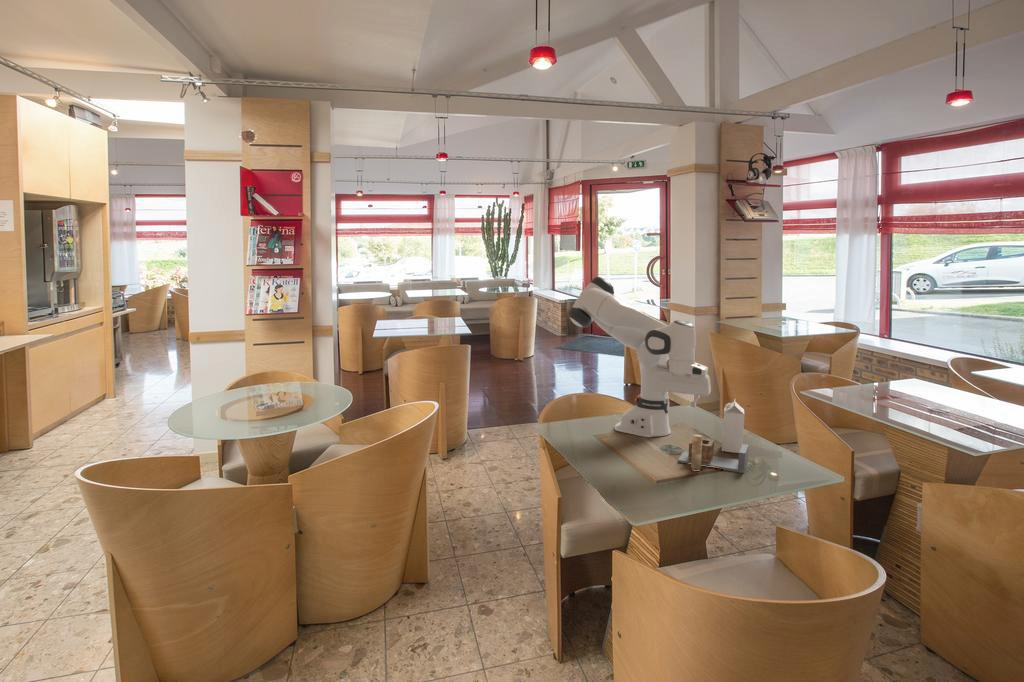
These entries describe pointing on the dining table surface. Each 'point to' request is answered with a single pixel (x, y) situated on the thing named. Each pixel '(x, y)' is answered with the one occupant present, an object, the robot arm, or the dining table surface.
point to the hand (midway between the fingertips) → (679, 405)
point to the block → (704, 450)
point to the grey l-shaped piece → (724, 461)
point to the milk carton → (733, 428)
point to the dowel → (696, 452)
